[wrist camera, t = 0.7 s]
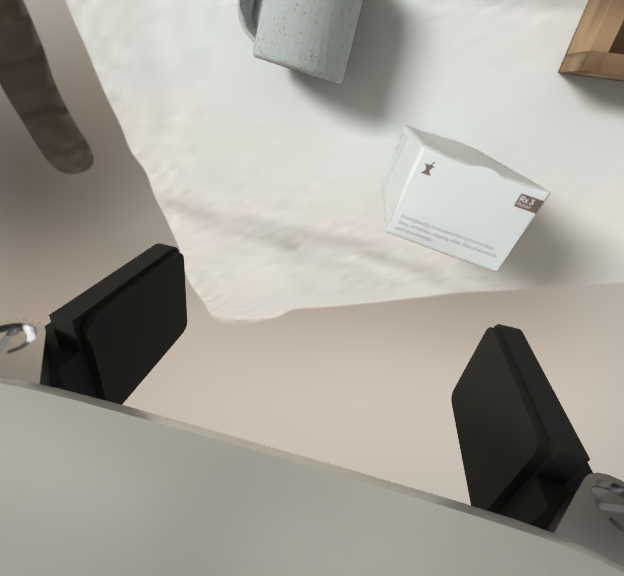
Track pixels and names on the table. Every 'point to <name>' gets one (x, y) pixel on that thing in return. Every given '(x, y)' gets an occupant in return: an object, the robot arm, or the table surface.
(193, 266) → the table surface
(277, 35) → the ceramic mug
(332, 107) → the table surface
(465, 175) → the skincare box
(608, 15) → the brown wooden tray
